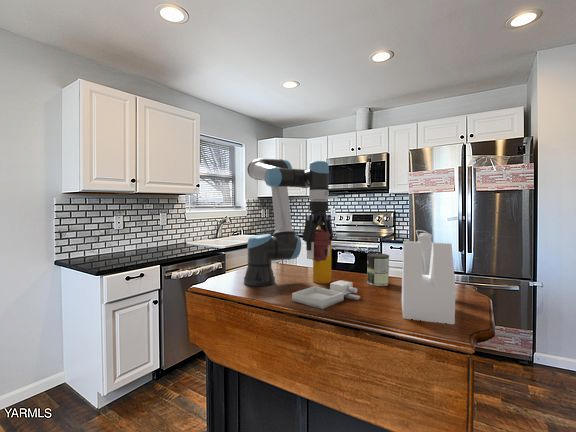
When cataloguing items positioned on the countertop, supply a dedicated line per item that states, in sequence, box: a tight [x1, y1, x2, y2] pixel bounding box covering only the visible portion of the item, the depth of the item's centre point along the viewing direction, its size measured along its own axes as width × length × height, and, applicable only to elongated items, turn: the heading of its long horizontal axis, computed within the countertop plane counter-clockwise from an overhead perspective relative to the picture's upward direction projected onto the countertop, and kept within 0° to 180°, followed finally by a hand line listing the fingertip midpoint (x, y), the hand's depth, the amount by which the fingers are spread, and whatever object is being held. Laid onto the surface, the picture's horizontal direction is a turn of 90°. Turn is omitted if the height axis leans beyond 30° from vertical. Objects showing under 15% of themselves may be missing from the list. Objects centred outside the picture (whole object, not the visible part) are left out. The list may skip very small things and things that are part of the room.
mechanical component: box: [311, 228, 332, 262], centre depth 121 cm, size 12×10×10 cm
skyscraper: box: [415, 229, 433, 275], centre depth 132 cm, size 8×8×28 cm
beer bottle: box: [312, 226, 333, 285], centre depth 152 cm, size 9×9×29 cm
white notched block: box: [401, 240, 456, 325], centre depth 108 cm, size 19×15×25 cm
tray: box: [291, 285, 345, 310], centre depth 121 cm, size 15×15×3 cm
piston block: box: [329, 279, 358, 295], centre depth 127 cm, size 10×8×4 cm
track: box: [344, 293, 361, 301], centre depth 127 cm, size 11×3×1 cm, turn 48°
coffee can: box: [366, 252, 390, 287], centre depth 149 cm, size 10×10×14 cm
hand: (318, 257), depth 121 cm, fingers closed on mechanical component, 10 cm apart
